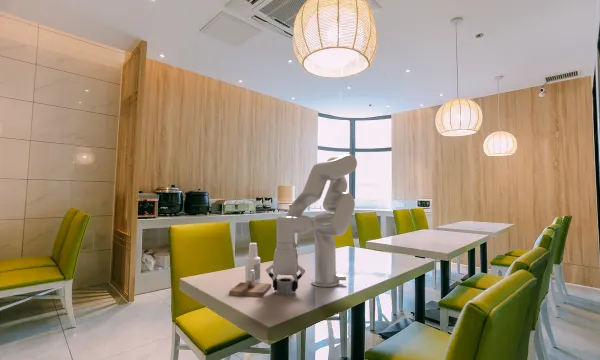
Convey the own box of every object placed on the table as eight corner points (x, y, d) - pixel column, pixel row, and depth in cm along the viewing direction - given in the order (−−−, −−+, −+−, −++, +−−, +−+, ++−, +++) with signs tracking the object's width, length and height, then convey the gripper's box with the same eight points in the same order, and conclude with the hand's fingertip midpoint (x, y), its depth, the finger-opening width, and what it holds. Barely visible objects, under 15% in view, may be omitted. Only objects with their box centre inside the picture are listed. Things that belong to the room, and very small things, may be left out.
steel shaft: (255, 286, 118) (255, 269, 119) (253, 288, 115) (253, 271, 116) (248, 285, 119) (249, 269, 119) (246, 288, 116) (246, 270, 116)
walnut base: (271, 287, 122) (271, 283, 122) (263, 296, 110) (263, 292, 110) (240, 285, 124) (240, 282, 124) (229, 294, 112) (229, 290, 112)
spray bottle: (261, 284, 126) (261, 243, 127) (246, 285, 124) (246, 244, 125) (259, 280, 132) (259, 241, 134) (244, 281, 130) (244, 242, 132)
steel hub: (295, 290, 117) (295, 277, 118) (292, 296, 110) (292, 283, 110) (278, 289, 119) (278, 277, 119) (274, 295, 111) (274, 282, 112)
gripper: (307, 245, 118) (307, 288, 117) (267, 244, 121) (267, 286, 119) (305, 248, 111) (305, 294, 109) (262, 247, 113) (262, 291, 112)
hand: (285, 289), depth 114 cm, fingers closed on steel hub, 7 cm apart
